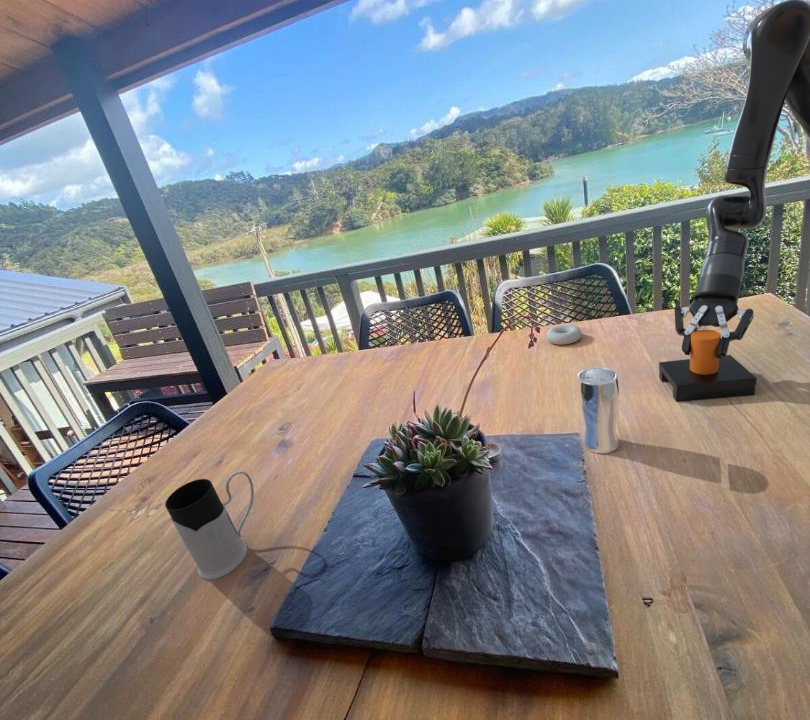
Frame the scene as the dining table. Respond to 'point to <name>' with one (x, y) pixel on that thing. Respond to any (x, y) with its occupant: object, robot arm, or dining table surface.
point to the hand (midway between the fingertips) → (702, 355)
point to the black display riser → (708, 380)
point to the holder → (208, 527)
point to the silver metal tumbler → (599, 408)
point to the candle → (704, 352)
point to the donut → (563, 334)
